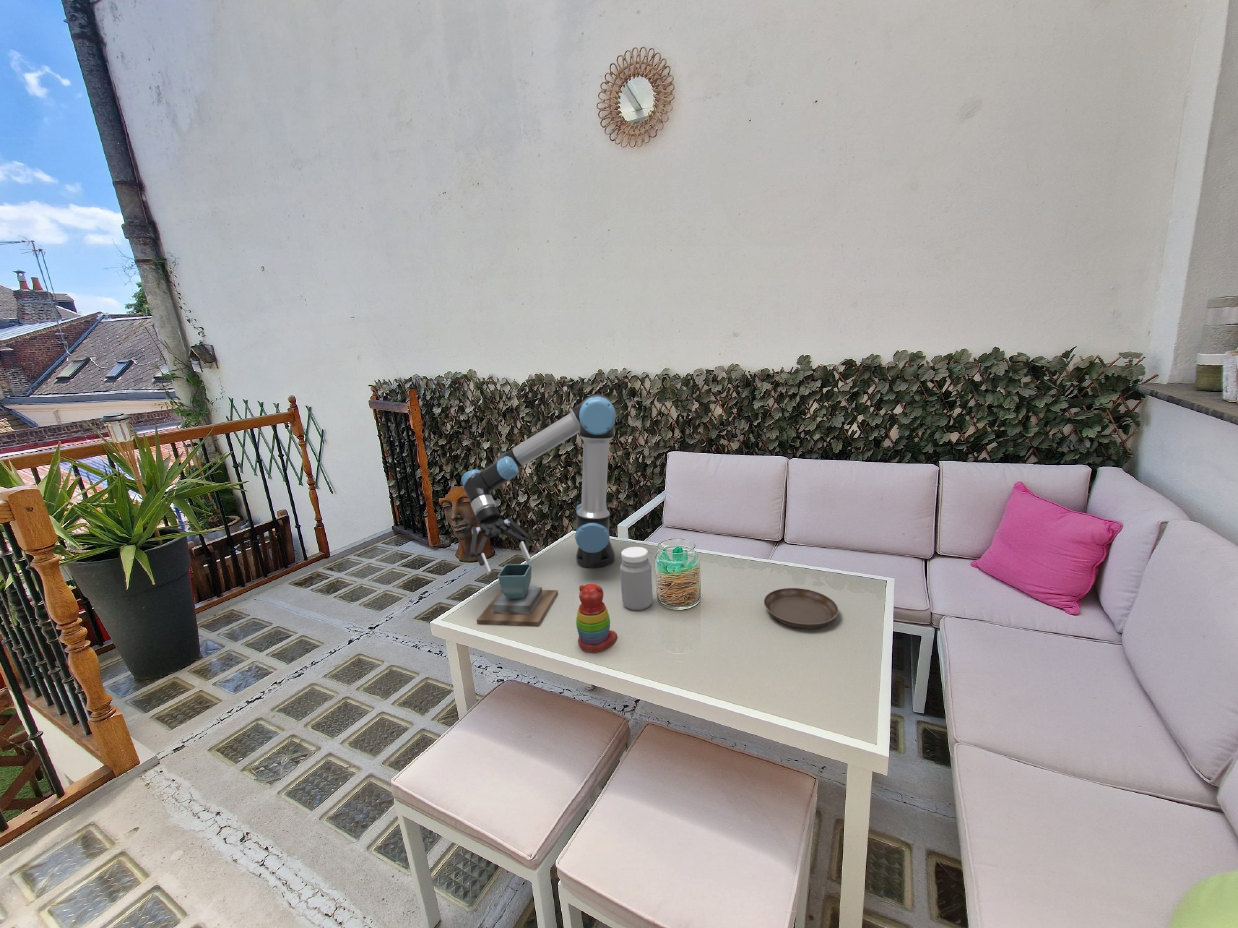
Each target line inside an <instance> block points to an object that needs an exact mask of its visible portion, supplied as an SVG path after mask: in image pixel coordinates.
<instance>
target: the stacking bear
mask: <svg viewBox="0 0 1238 928" xmlns="http://www.w3.org/2000/svg"><path fill="white" fill-rule="evenodd" d="M578 589H579V593H578V594H579V595H578V598H579V600H580V605H579V606H578V609H577V613H576V619H575V620H576V621H575V624H576V625H575V626H576V629H577V634H578V640H577V641H578V646H579V648H580V649H581V650H583V652H588V653H598V652H602V651H604V650H606V649H608V648H610V647H611V646H612V645H614V644H615V642H616V641H617V639H618V634H617V632H616V631H615V630H612V629H611V618H610V617H611V616H610V614H609V611H608V609H607V606H606V604H605V602H603V599H604V590H603V588H602V586H600V585H598V584H597V583H587V584H585V585H584V584H580V585H579V586H578Z"/></svg>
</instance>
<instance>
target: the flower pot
mask: <svg viewBox="0 0 1238 928" xmlns="http://www.w3.org/2000/svg"><path fill="white" fill-rule="evenodd" d="M497 578H498V579H497V580H498V583H499V585H500V586H499V587H500V591H501V590H502V592H503V594H504V595H505V596H506V597H507V598H508V599H523V598H524V596H525V594H526V593H527V590H528V588H529V587H530V585H531V583H532V582H531V580H532V564H531V563H525V564H524V563H519V564H517V563H515V564H513V563H512V564H505V565H503V568H502V569H501V570H500V573H498V575H497Z"/></svg>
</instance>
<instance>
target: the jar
mask: <svg viewBox="0 0 1238 928" xmlns="http://www.w3.org/2000/svg"><path fill="white" fill-rule="evenodd" d="M620 555H621V562H622V563H621V564H620V566H619V570H620V586H621V588H620V589H621V600H622V601H621V602H622V604H623V606H624V607H625V608H627V609H629V610H630V611H644V610H645V609H647V608H649V607H650V606H651V605H652V603H653V601H654V597H653V579H652V576H653V575H652V565H651V563H650V562H649V551H648V549H647V548H645V547H642V546H629V547H626V548H624V549H623V550H622V551H621V553H620Z"/></svg>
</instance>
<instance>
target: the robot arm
mask: <svg viewBox="0 0 1238 928" xmlns="http://www.w3.org/2000/svg"><path fill="white" fill-rule="evenodd" d="M570 410H571V411H570V413H568V414H567V415H565V416H563V417H562V418H560V419H558V420H557V421H555V422H553V423H552V424H550V425H548V426H547V427H545V428H544V429H542V430H540V431H539V432H537V433H536V434H534V435H532V436H531V437H529V438H527V439H525V440H524V441H523V442H520V443H519V444H517V445H515V446H514V447H513V448H511V449H509V450H508V451H505V452H503V453H501V454H500V455H498V457H497V459H496V460H495V461H494V462H493V463H492V464H491V465H489V466H488V467H486V468H485V469H483V470H482V471H481V470H480V469H471V470H469V471H466V472H465V473H463V475H462V476H461V481H460V482H461V483H462V487H463V491H464V492H465V494H466V497H467V499H468V501H469V504H470V506H471V509H472V511H473V513H474V514H473V515H475V519H476V521H477V523H478V527H476V526H472V528H471V531H470V532H471V536H472V537H471V544H470V550H469V551H470V552H469V558H476V559H477V561H478V564H479V566H481V567H482V566H483V569H484V571H485V573H486V575H487V576H489V575H491V572H492V570H491V568H490V565H489V562H488V560H487V557H486V555H485V553H484V552H483V549H484V547H485V544H486V541H487V540H488V537H489V538H494V537H496V536H500V535H503V536H506V537H508V538H510V539H512V540H513V541H515V542H517V543H518V544H519V548H520V551H521V552H522V555H523V557H524V559H525V562H526V563H529V562H530V561H531V556H530V553H529V549H530V547H529V545H528V542H527V541H528V540H529V538H530V537H531V535H530V534H528V533H527V532H526V531H525V530H524V529H523V528H521V527H520V526H519V525H518V524H517V523H516V522H515V521H514V520H513V518H512V517H511V516H508V517H507V518H506V519H503V518H502V516H501V513H500V511H499V509H498V507H497V505H496V502H495V500H494V498H493V496H492V493H491V492H492V491H494V490H495V489H497V488H498V487H500V486H502V485H504V484H505V483H507V482H508V481H511V480H513V478H515V477H516V476H517V475H518V474H519V472H520V471H519V469H521V468H522V467H524V466H525V465H527V464H529V463H531V462H532V461H534V460H536V459H537V458H539V457H540V456H542V455H544V454H545V453H547V452H549V451H550V450H552V449H554V448H556V447H557V446H559V445H560V444H562V443H564V442H566V441H567V440H568V439H570V438H572V437H574V436H575V435H579V437H580V438H581V440H582V441H583V450H582V451H583V452H582V474H581V475H582V477H581V478H582V481H581V503H579V504H577V505H576V510H575V513H576V520H575V521H576V525H575V534H574V539H575V543H576V544H577V550H576V554H575V561H576V564H577V565H579V566H580V567H582V568H589V569H593V568H595V569H597V568H602V567H605V566H608V565H610V564H612V563H614V562H615V560H616V552H615V550H614V548H613V545H612V542H611V541H610V537H611V536H610V516H611V514H610V513H611V512H610V511H609V510H608V507H607V492H608V491H607V490H608V489H607V488H608V469H609V467H608V466H609V446H610V444H609V443H610V441H611V440H613V439H614V434H615V423H616V422H615V421H616V417H617V416H616V415H617V414H616V410H615V406H614V404H613V403H612V401H611V400H610V399H609V397H607V396H606V395H604V394H601V393H595V394H590V395H589V396H588V397H586V398H585V399H584V400H582V402H581V401H580V403H579V404H577V405H576V406H575V407H573V408H571V409H570ZM505 525H506V526H505ZM507 526H508V527H509V528H510V529H509V528H508V527H507ZM479 532H481V533H482V534H483V538H482V540H481V542H480V544H479V547H478V550H477V551H476V548H477V547H476V546H477V537H478V535H479Z"/></svg>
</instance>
